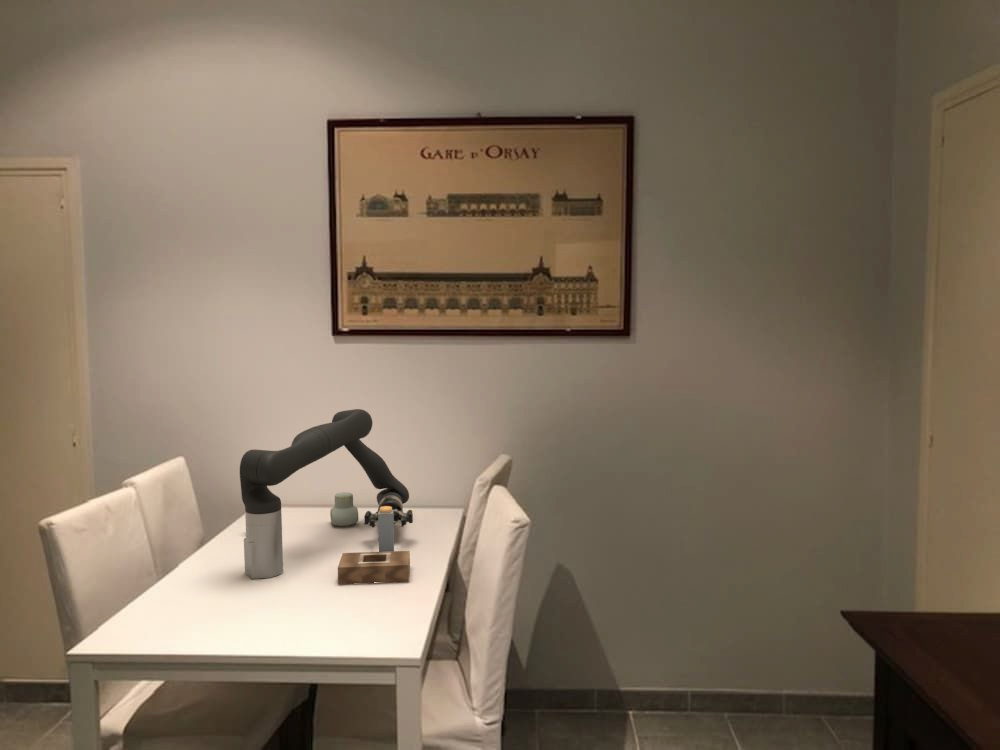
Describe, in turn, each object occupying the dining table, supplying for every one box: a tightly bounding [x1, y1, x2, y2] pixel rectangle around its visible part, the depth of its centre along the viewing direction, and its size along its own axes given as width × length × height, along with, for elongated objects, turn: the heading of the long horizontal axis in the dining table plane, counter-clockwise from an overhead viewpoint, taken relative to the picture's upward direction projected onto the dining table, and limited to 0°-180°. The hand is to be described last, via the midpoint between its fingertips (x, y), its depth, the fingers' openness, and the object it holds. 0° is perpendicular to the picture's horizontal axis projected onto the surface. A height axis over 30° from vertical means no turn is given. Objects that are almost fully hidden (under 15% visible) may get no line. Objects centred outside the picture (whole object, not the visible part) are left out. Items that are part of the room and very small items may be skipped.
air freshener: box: [329, 491, 359, 527], centre depth 261 cm, size 11×8×10 cm
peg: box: [377, 506, 395, 552], centre depth 223 cm, size 4×4×15 cm
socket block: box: [337, 550, 411, 585], centre depth 211 cm, size 18×12×5 cm, turn 95°
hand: (387, 523), depth 232 cm, fingers open, 8 cm apart
